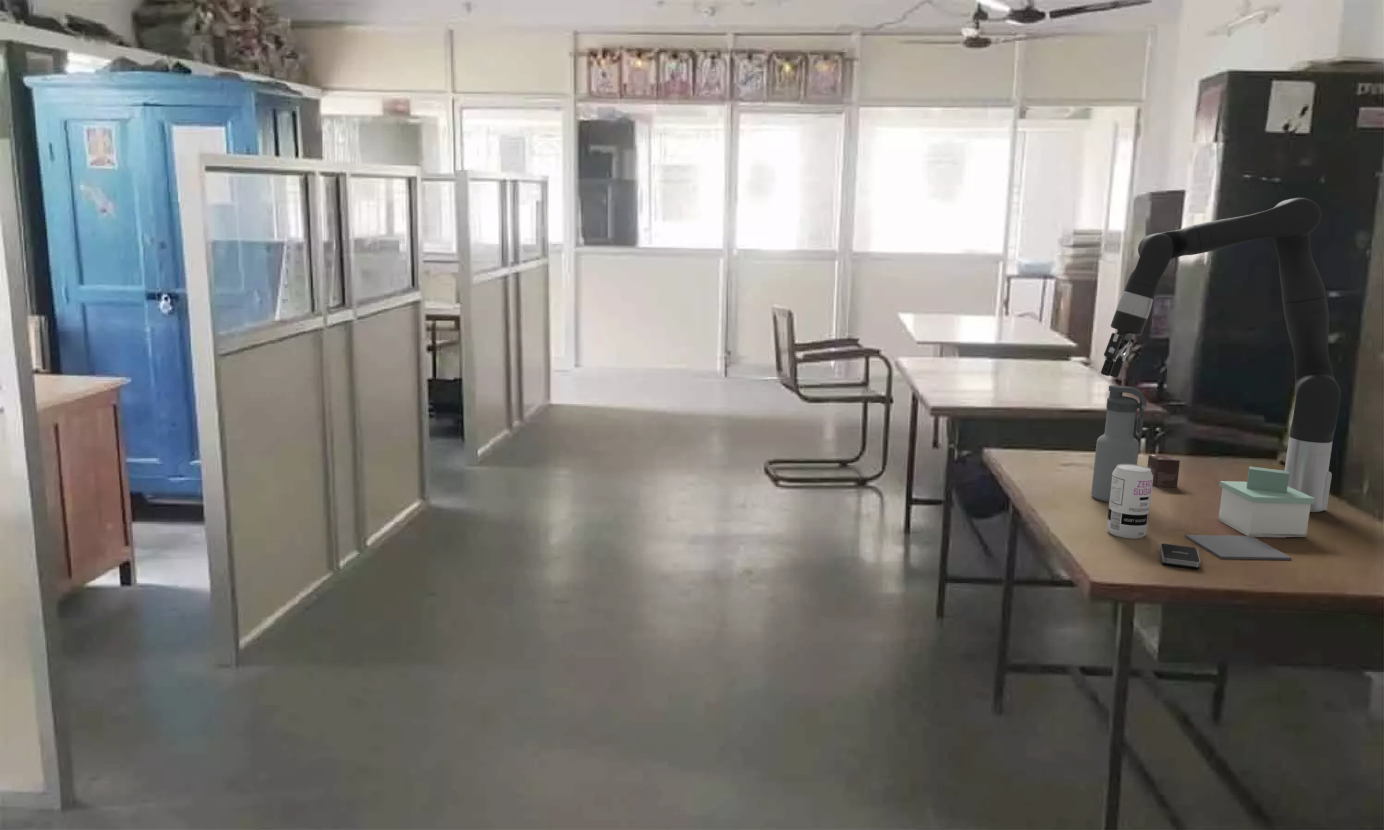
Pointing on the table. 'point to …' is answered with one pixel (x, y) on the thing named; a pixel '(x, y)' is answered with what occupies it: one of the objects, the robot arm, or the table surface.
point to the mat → (1237, 547)
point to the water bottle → (1117, 438)
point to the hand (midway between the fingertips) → (1109, 375)
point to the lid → (1267, 487)
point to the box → (1164, 470)
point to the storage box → (1264, 517)
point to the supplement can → (1129, 501)
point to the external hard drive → (1179, 556)
